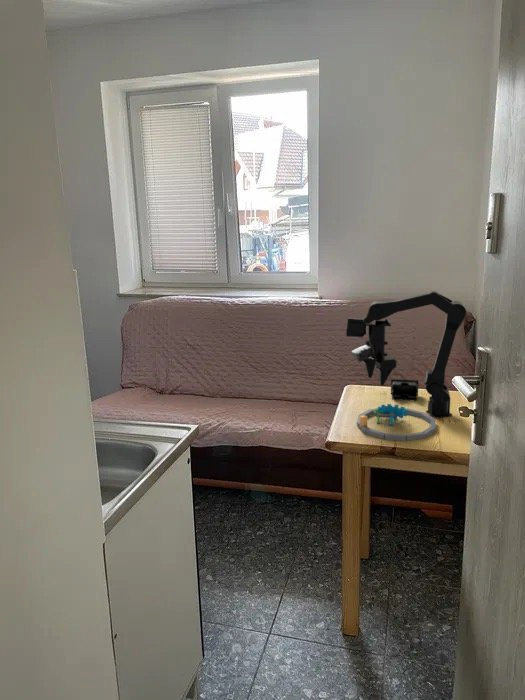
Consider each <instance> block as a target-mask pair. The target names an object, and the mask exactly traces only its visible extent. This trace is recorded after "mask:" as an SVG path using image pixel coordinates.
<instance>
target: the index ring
mask: <svg viewBox="0 0 525 700" xmlns="http://www.w3.org/2000/svg"><path fill="white" fill-rule="evenodd" d="M398 408H399V409H400V408H401V407H398ZM374 409H377V410H378V407H377V408H371V409H368V410H366V411H363V412H362V413H360V414H358V415H357V421H356V427H357V428H358V429H359V430H361V431H362V432H363V433H364V434H366V435H368V436H372V437H375V438H379V439H381V440H390V441H400V440H401V441H402V442H408V441H414V440H422V439H427V438H428V437H430V436H431V435H433V434H434V433H436V432H437V421H436V418H435V417H433V416H432V415H430V414H428V413H427V412H423V411H419V410H417V409H416V410H415V409H411V408H406V407H405V409H406V410H407V411H408V413H407V415H409V416H413V417H417V418H421V419H422V420H424V421H426V422H427V423H428V424H430V426H429V427H428V428H426V429H425V430H423V431H419V432H418V431H417V432H412V433H406V434H405V433H404V434H403V433H389V432H384V431H380V430H376V429H373V428H370V427H369V426H368V418H370V417H371V416H373V415H375V414H374Z"/></svg>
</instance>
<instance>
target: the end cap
mask: <svg viewBox="0 0 525 700" xmlns="http://www.w3.org/2000/svg"><path fill="white" fill-rule="evenodd" d="M390 395H391V400H393V399H394V400H393V401H395V400H397V401H410V400H414V402H416V400H417V397H418V396H419V380H418V379H398V378H397V379H396V378H391V380H390ZM417 401H418V400H417Z"/></svg>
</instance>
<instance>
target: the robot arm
mask: <svg viewBox="0 0 525 700" xmlns="http://www.w3.org/2000/svg"><path fill="white" fill-rule="evenodd" d="M431 305H433V306H435V307H436V308H437V309H439V311H442V312H443V313H445V317H444V318H445V319H444V329H443V333H442V336H441V339H440V343H439V346H438V350H437V354H436V356H435V359H434V360H435V361H434V364H433V366H432V367H431V369H430V368H426V374H425V376H424V379H423V380H424V381H423V382H424V385H425V391H426V392H427V394H429V395H431V396H428V397H429V399H428V403H427V410H425V413H426V414H428V415H429V416H431V417H432V418H434V419H439V418H440V419H441V418H447V417H452V416H453V414H452V413H451V410H450V409H451V396H450V395H451V394H450V391H449V387H447V386H446V385H445V380H446V379H445V378H446V377H445V376H446V369H447V365H448V361H449V358H450V355H451V352H452V351H451V350H452V348H453V345H454V342H455V341H454V340H455V338H456V336H457V332H458V330H459V329H460V327H461V326H462V323H463V321H464V320H465V318H466V315H467V309H466V307H465V306H464V304H463V302H461V301H459V300H451V299H450V298H448V297H447V296H444V295H442V294H441V293H439V292H438V291H435V290H431V291H428V292H425V293H420V294H417V295H416V294H415V295H413V296H409V297H408V296H407V297H403V298H399V299H393V300H388V299H386V300H385V299H384V300H375V301H373V302H371V304H370V305H369V308H368V312H367V314H365V315H364V317H363V318H362V317H361V318H360V317H359V318H357V317H356V318H354V317H348V318H347V323H346V324H347V326H346V331H345V333H346V338H358V339H359V338H361V339H363V338H364V336H368V339H367V340H365V341H364V343H365V344H364V345H361V346H360V347H359V346H358V347H357V348H355V349H352V350H351V353H352V356H353V358H354V360H355V361H356V362H358V363H361V362H362V363H364V366H365V370H366V371H365V372H366V374H367V377H368V378H369V379H370V378H372V377H373V375H374V370H375V369H376V370H377V371H378V376H379V385H380V386H384V385H385V384H386V382H387V380H388V378H389V376H390V375H391V373H392V371H393V370H395V368H397V367H398V361H397V360H396V359H395V358H393V357H391V356H388V352H386V346H387V345H388V344H389V343H388V340H386V329H387V328H386V327H391V326H392V322H391V321H390V320H389V319H388V317H390V316H392V315H394V314H396V313H399V312H403V311H407V310H412V309H417V308H422V307H426V306H431ZM373 321H374V322H373ZM367 334H368V335H367Z"/></svg>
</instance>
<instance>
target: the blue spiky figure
mask: <svg viewBox="0 0 525 700" xmlns="http://www.w3.org/2000/svg"><path fill="white" fill-rule="evenodd" d="M377 408H378V410H377V409H376V408H373V409H374V415H375V417H376V423H377V424H380V418H386V419H389V426H391V425H392V426H394V420H396V419H398V418H399V419H403V418H404V417H407V416H408V414H407V413H408V411H407V410H406V409H405V408H406V407H404V406H400V407H399V404H394V406H393V405H392V404H391V403H388V404H387V405H385V404H381V406H378V407H377ZM399 408H400V409H399Z"/></svg>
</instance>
